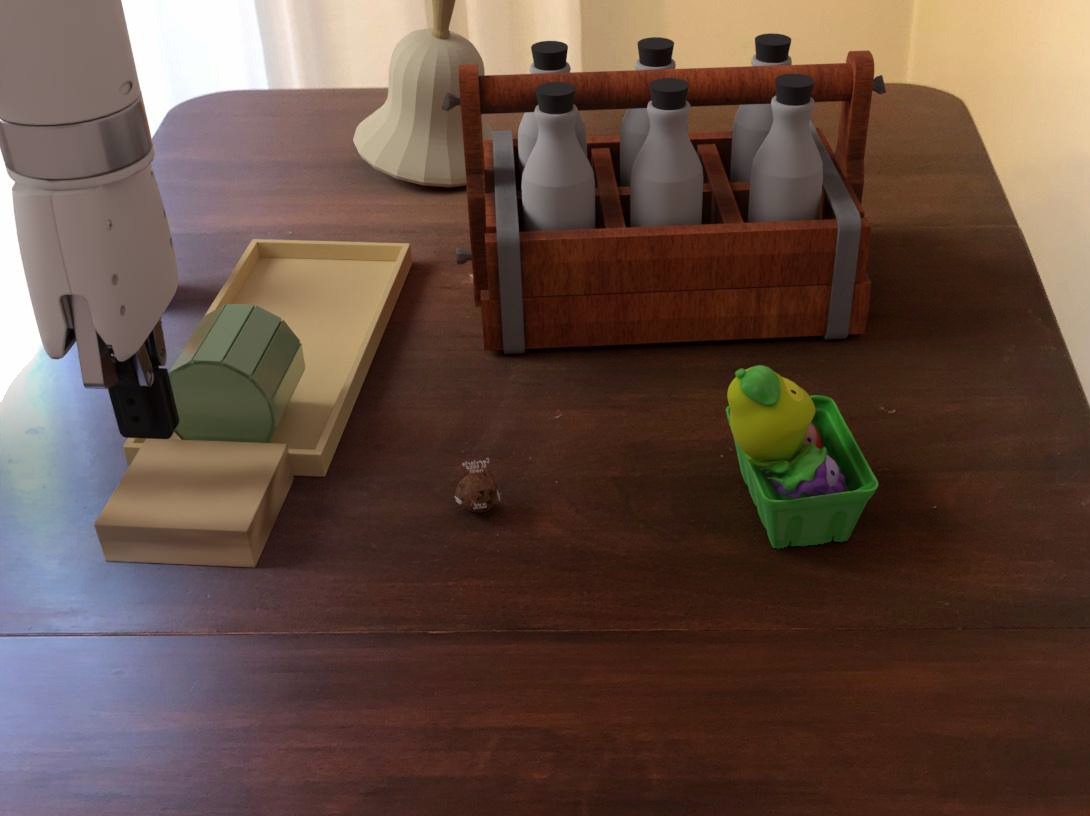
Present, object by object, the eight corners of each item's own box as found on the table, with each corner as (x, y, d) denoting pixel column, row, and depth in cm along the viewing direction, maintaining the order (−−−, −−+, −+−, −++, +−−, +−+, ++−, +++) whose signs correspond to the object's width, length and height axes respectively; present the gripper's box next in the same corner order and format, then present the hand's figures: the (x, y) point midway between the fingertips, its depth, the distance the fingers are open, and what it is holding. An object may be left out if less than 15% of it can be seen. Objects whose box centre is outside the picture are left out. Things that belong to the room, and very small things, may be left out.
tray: (325, 477, 95) (321, 454, 94) (128, 469, 96) (122, 446, 95) (412, 263, 121) (410, 243, 120) (256, 258, 122) (252, 238, 120)
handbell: (395, 114, 144) (412, -141, 127) (526, 158, 142) (562, -95, 125) (325, 169, 133) (334, -102, 116) (466, 217, 131) (496, -51, 114)
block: (255, 568, 88) (247, 531, 86) (104, 561, 88) (93, 524, 86) (294, 479, 95) (287, 443, 93) (155, 473, 96) (146, 437, 94)
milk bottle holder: (457, 243, 124) (440, 23, 111) (837, 228, 125) (861, 9, 113) (456, 361, 107) (435, 119, 95) (891, 341, 109) (927, 101, 97)
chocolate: (458, 524, 91) (453, 475, 88) (454, 505, 93) (449, 456, 90) (502, 518, 92) (499, 470, 89) (497, 499, 93) (494, 451, 91)
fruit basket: (873, 552, 88) (897, 403, 81) (741, 566, 87) (752, 417, 80) (823, 455, 97) (840, 312, 90) (702, 467, 96) (709, 324, 89)
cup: (136, 390, 93) (173, 332, 99) (212, 475, 98) (244, 415, 104) (224, 341, 90) (257, 285, 96) (298, 432, 95) (325, 373, 101)
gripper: (58, 82, 77) (131, 366, 89) (-58, 192, 65) (44, 501, 77) (188, 85, 76) (244, 370, 88) (94, 196, 65) (173, 506, 77)
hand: (150, 430), depth 83 cm, fingers closed
